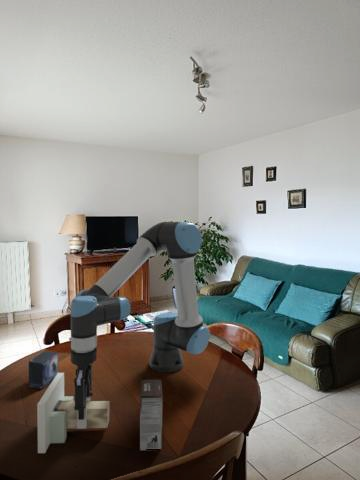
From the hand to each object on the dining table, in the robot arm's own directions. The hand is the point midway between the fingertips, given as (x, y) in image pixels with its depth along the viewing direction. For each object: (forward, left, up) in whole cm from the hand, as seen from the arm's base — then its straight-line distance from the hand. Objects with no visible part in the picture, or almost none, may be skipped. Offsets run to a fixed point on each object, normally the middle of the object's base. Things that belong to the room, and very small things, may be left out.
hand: (83, 422), depth 96 cm
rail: (0, 0, 0) cm, 0 cm away
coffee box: (-21, +5, -3) cm, 21 cm away
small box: (+22, -30, -3) cm, 38 cm away
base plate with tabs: (+6, 0, -3) cm, 7 cm away
